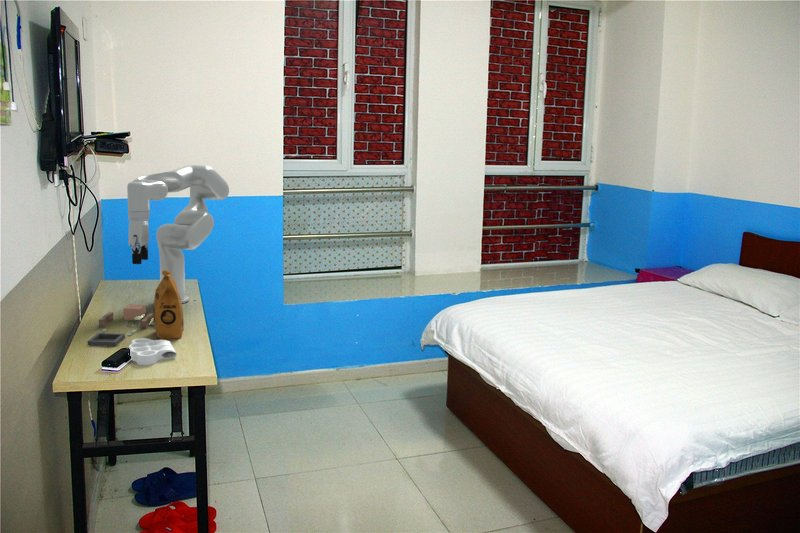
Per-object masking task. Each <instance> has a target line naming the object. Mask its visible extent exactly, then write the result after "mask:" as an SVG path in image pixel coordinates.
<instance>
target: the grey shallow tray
mask: <svg viewBox="0 0 800 533" xmlns="http://www.w3.org/2000/svg"><path fill="white" fill-rule="evenodd" d="M125 338H126V333H109V332H107V333H105V332H104V333H99V332H97V333H96V334H94V335H93V336H92V337H91V338H90V339H88V340H87V346H88V345H89V346H91V347H117V346H118V345H119V344H121V343H122V341H124V340H125ZM89 346H88V347H89Z"/></svg>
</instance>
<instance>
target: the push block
mask: <svg viewBox="0 0 800 533" xmlns="http://www.w3.org/2000/svg"><path fill="white" fill-rule="evenodd" d="M146 310H147V306H146V304H134V303H133V304H131V303H129V304H127V305H126V306H125V307H123V321H124V320H125V321H134V320H133V319H134V318H135V317H136V316H141V315H142V314H145V313H146V312H147V311H146ZM146 314H147V313H146Z"/></svg>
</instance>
